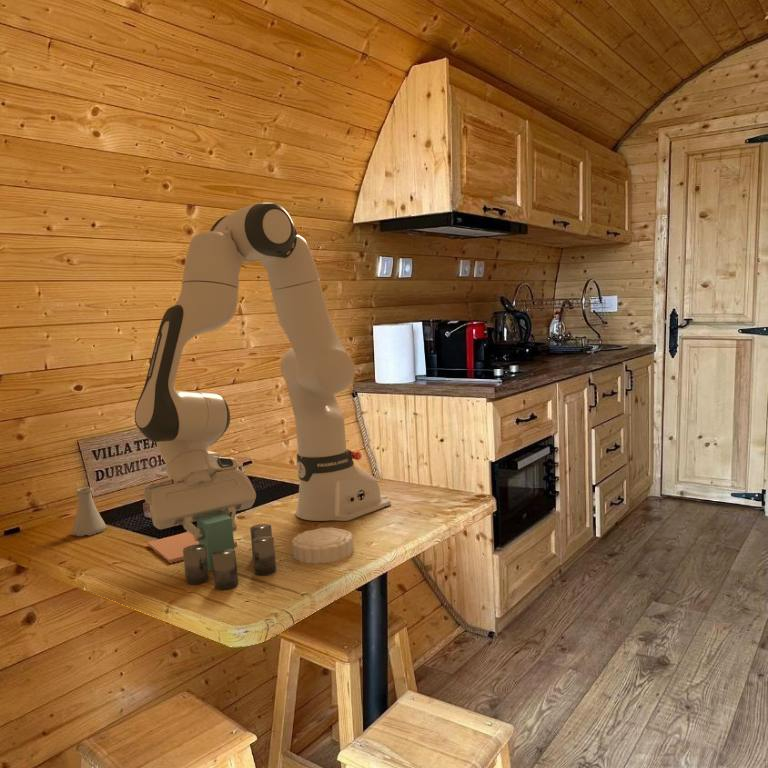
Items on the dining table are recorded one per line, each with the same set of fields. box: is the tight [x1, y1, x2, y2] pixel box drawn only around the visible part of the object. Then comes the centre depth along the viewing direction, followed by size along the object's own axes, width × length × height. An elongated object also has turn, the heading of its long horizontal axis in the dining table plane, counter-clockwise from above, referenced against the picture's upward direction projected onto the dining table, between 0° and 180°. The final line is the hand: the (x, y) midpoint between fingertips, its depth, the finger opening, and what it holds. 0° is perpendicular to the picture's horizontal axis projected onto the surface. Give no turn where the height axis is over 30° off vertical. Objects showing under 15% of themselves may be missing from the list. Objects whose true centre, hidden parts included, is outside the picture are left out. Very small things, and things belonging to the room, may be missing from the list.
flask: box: [70, 486, 108, 537], centre depth 159 cm, size 7×7×10 cm
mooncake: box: [291, 526, 355, 565], centre depth 137 cm, size 12×12×4 cm
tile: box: [146, 531, 238, 564], centre depth 145 cm, size 14×14×1 cm
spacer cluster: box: [183, 523, 277, 591], centre depth 129 cm, size 18×12×6 cm, turn 126°
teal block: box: [196, 513, 236, 572], centre depth 134 cm, size 5×5×9 cm
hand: (216, 534), depth 133 cm, fingers closed on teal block, 5 cm apart
